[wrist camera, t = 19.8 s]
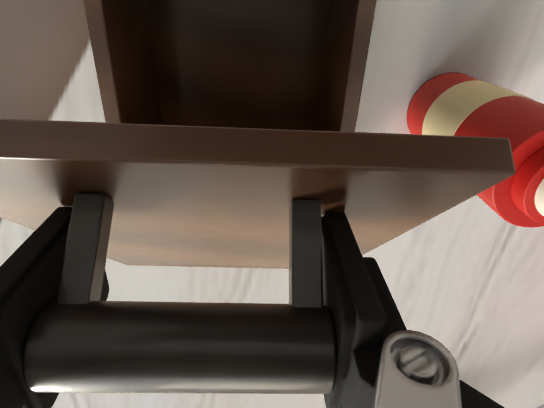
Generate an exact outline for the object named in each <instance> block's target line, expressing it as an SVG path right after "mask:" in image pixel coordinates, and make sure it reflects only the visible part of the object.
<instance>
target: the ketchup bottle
mask: <svg viewBox="0 0 544 408" xmlns="http://www.w3.org/2000/svg"><path fill="white" fill-rule="evenodd" d="M407 124H408V128H409V130H410V132H411V134H416V135H443V136H469V137H496V138H508V139H509V140H510V144H511V149H512V155H513V160H514V165H515V170H516V172H515V174H514V175H513V176H511V177H509V178H507V179H505V180H503V181H501V182H500V183H498V184H496V185H494V186H492V187H490V188H488V189H486V190H484V191H482V192H481V193H479V194H477V195H478V196H479V197H480V198H481V199H482V200H483V201H484V202H485V203H486V204H487V205H489V206H490V207H491V208H492V209H493V210H494V211H495V212H496V213H497V214H498V215H499V216H501V217H502V218H503V219H504V220H506V221H507V222H509V223H511V224H514V225H517V226H522V227H541V226H544V104H542V103H539V102H536V101H534V100H533V99H531V98H529V97H526V96H523V95H521V94H518V93H515V92H513V91H510V90H507V89H505V88H502V87H499V86H497V85H494V84H491V83H489V82H485V81H481V80H478V79H476V78H473V77H470V76H468V75H465V74H462V73H455V72H454V73H445V74H441V75H438V76H436V77H434V78H432V79H430V80H429V81H427V82H426V83H425V84H424V85H423V86H421V87H420V89H419V90H418V91H417V92H416V93H415V95H414V96H413V98H412V100H411V102H410V105H409V108H408V113H407Z"/></svg>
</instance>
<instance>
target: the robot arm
mask: <svg viewBox="0 0 544 408" xmlns="http://www.w3.org/2000/svg"><path fill="white" fill-rule="evenodd" d="M71 213H72V207H58V208H57V209H56V210H55V211H54V212H53V213H52V214H51V215H50V216H49V217H48V218H47V219H46V220H45V221H44V222H43V223H42V224H41V225H40V226H39V227H38V228H37V229H36V230H35V231H34V232H33V233H32V235H31V236H30V237H29V238H28V239H27V240H26V241H25V242H24V243H23V244H22V245H21V246H20V247H19V248H18V249H17V250H16V251H15V252H14V253H13V254H12V255H11V256H10V257H9V258H8V259H7V260H6V261H5V262H4V263H3V265H2V266H1V267H0V408H51V407H52V406H53V404H54V402H55V400H56V398H57V396H58V394H59V393H47V392H35V391H33V390H31V389H30V388H28V386H27V385H26V383H25V381H24V378H23V374H22V354H23V348H24V344H25V340H26V337H27V334H28V332H29V329H30V327H31V325H32V323H33V321H34V319H35V318H36V316H37V315H38V313H39V312H40V311H41V310H42V309H43V308H44V307H45V306H46V305H47V304H49V303H51V302H54V301H56V295H57V290H58V284H59V279H60V273H61V268H62V262H63V257H64V251H65V246H66V240H67V235H68V229H69V224H70V218H71ZM321 226H322V264H323V302H324V305H326V306H328V307H329V309H330V311H331V313H332V316H333V320H334V324H335V330H336V339H337V376H336V382H335V386H334V389H333V391H332V392H331V393H329V394H324V398H325V404H326V407H327V408H504V407H503V406H501V405H499V404H498V403H496V402H495V401H493V400H492V399H490V398H488V397H487V396H485V395H484V394H482V393H480V392H479V391H477V390H476V389H474V388H472V387H471V386H469V385H468V384H466V383H464V382H463V381H461V380H460V379H459V371H458V367H457V363H456V361H455V359H454V357H453V356H452V354H451V353H450V351H449V350H448V349H447V348H446V347H445V346H444V345H443V344H442V343H440V342H439V341H437V340H436V339H434V338H433V337H431V336H429V335H426V334H424V333H421V332H417V331H412V330H407V329H406V327H405V325H404V322H403V320H402V318H401V316H400V313H399V311H398V309H397V307H396V304H395V302H394V300H393V298H392V295H391V293H390V291H389V289H388V286H387V284H386V282H385V280H384V278H383V275H382V273H381V271H380V269H379V266H378V264H377V262H376V260H375V259H374V258H370V257H362V254H361V252H360V249H359V247H358V244H357V242H356V239H355V237H354V234H353V232H352V229H351V227H350V224H349V222H348V219H347V217H346V214H345V212H325V214H324V215H323V217H321ZM108 294H109V284H108V280H107V276H106V272H105V270H104V277H103V283H102V290H101V297H100V301H106V300H107V297H108Z"/></svg>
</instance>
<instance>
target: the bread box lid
mask: <svg viewBox="0 0 544 408" xmlns="http://www.w3.org/2000/svg"><path fill="white" fill-rule="evenodd" d="M515 172H516V170H515V165H514V160H513V155H512V149H511V144H510V140H509V139H508V138H496V137H469V136H443V135H416V134H390V133H364V132H337V131H311V130H284V129H258V128H232V127H205V126H179V125H152V124H126V123H99V122H73V121H46V120H19V119H0V217H1V218H4V219H6V220H9V221H12V222H14V223H17V224H19V225H22V226H25V227H27V228H30V229H33V230H36V229H37V228H38V227H39V226H40V225H41V224H42V223H43V222H44V221H45V220H46V219H47V218H48V217H49V216H50V215H51V214H52V213H53V212H54V211H55V210H56V209H57V208H58V207H72V213H71V218H70V224H69V229H68V235H67V240H66V246H65V251H64V257H63V262H62V268H61V273H60V279H59V284H58V290H57V295H56V301H54V302H51V303H49V304H47V305H46V306H45V307H44V308H43V309H42V310H41V311H40V312H39V313H38V315H37V316H36V318H35V319H34V321H33V323H32V325H31V327H30V329H29V332H28V334H27V337H26V340H25V344H24V348H23V354H22V374H23V378H24V381H25V383H26V385H27V386H28V388H30V389H31V390H33V391H35V392H47V393H260V394H329V393H331V392H332V391H333V389H334V386H335V382H336V376H337V339H336V330H335V324H334V320H333V316H332V313H331V311H330V309H329V307H328V306H326V305H324V302H323V264H322V226H321V217H323V215H324V214H325V212H345V214H346V217H347V219H348V222H349V224H350V227H351V229H352V232H353V234H354V237H355V239H356V242H357V244H358V247H359V249H360V252H361V254H362V255H363V254H365V253H367V252H369V251H371V250H373V249H374V248H376V247H378V246H380V245H382V244H384V243H386V242H388V241H390V240H391V239H393V238H395V237H397V236H399V235H401V234H403V233H405V232H407V231H409V230H410V229H412V228H414V227H416V226H418V225H420V224H422V223H424V222H426V221H428V220H429V219H431V218H433V217H435V216H437V215H439V214H441V213H443V212H445V211H446V210H448V209H450V208H452V207H454V206H456V205H458V204H460V203H462V202H464V201H465V200H467V199H469V198H471V197H473V196H475V195H477V194H479V193H481V192H482V191H484V190H486V189H488V188H490V187H492V186H494V185H496V184H498V183H500V182H501V181H503V180H505V179H507V178H509V177H511V176H513V175H514V174H515ZM106 257H107V258H109V259H112V260H115V261H117V262H120V263H122V264H125V265H138V266H187V267H236V268H285V269H289V304H256V303H194V302H131V301H100V297H101V290H102V283H103V277H104V270H105V263H106Z"/></svg>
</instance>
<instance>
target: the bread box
mask: <svg viewBox="0 0 544 408" xmlns="http://www.w3.org/2000/svg"><path fill="white" fill-rule="evenodd" d="M83 1H84V7H85V13H86V18H87V23H88V28H89V34H90V40H91V45H92V50H93V56H94V61H95V67H96V72H97V77H98V83H99V88H100V94H101V99H102V104H103V110H104V115H105V121H106V123H126V124H152V125H179V126H205V127H232V128H258V129H284V130H311V131H337V132H355V126H356V120H357V114H358V108H359V102H360V96H361V90H362V84H363V78H364V72H365V66H366V60H367V54H368V48H369V42H370V36H371V30H372V24H373V18H374V12H375V6H376V0H83Z"/></svg>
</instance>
